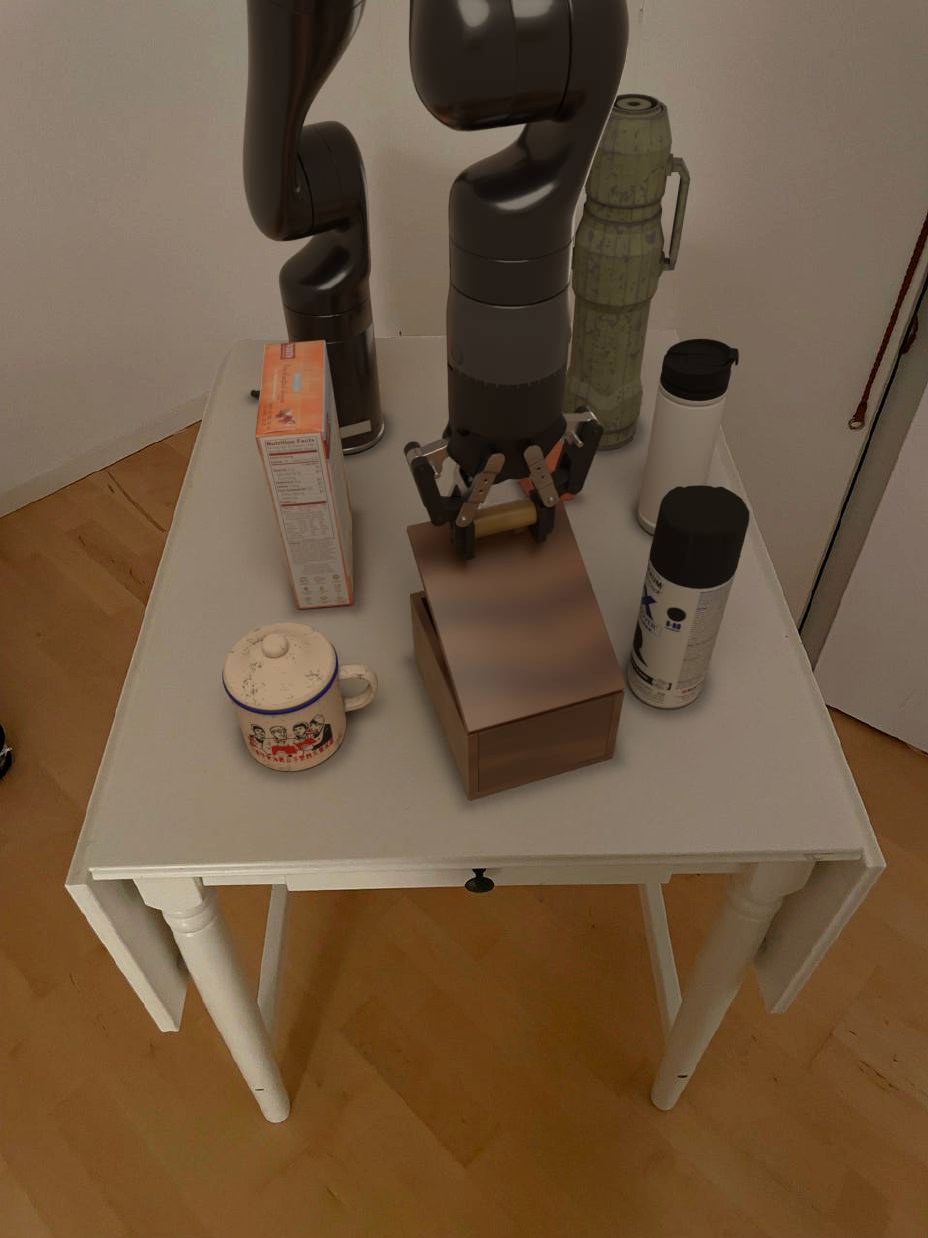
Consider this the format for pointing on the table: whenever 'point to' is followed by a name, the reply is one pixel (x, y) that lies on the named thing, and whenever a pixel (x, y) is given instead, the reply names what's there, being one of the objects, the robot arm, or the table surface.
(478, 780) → the chest
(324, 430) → the cracker box
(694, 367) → the travel mug
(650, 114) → the thermos
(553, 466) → the block
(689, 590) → the spray can
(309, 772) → the table surface
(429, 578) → the lid
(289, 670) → the teacup with lid
